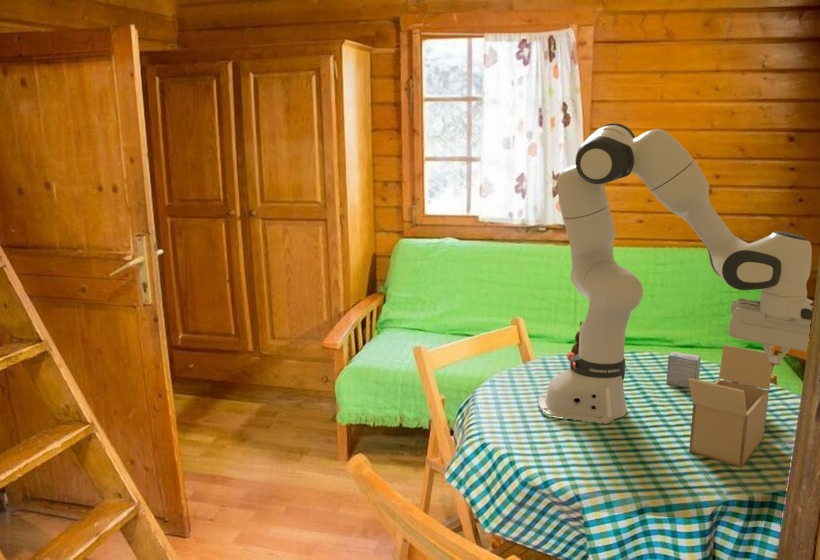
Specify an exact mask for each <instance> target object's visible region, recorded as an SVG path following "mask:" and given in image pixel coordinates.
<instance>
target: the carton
mask: <svg viewBox="0 0 820 560" xmlns="http://www.w3.org/2000/svg"><path fill="white" fill-rule="evenodd" d="M713 383H714V384H718V385H723V386H727V387H731V388H736V389H740V390H744V394H745V403H746V412H747V416H746V417H745V416H741V415H737V414H733V413H729V412H725V411H721V410H717V409H713V408H709V407H705V406H701V405H697V404H694V403H693V402H692V413H691V414H692V417H691V426H690V436H689V438H690V439H689V451H688V452H690V453H693V454H696V455H700V456H703V457H707V458H709V459H713V460H715V461H716V460H717V461H719V462H722V463H726V464H729V465H732V466H736V467H739V468H743V467H744V465H745V464H746V463H747V462H748V460H749V458H750V457H751V456H752V455H753V454H754V452H755V451H756V449H757V448H758V447H759V446H760V444H761V443H762V442H763V440H764V438H765V437H764V435H765V428H766V421H767V413H768V411H767V410H768V402H769V393H770V391H769V389H764V388H760V387H757V388H755V387H750V386H746V385H741V384H737V383H733V382H728V381H724V379H720V378H718V379H717V380H715V381H714V382H713ZM760 442H761V443H760ZM757 446H758V447H757ZM754 450H755V451H754Z"/></svg>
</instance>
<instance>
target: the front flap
mask: <svg viewBox="0 0 820 560" xmlns="http://www.w3.org/2000/svg"><path fill="white" fill-rule="evenodd" d="M688 380H689V385H690V388H689V389H690V394H691V401H692V404H693V403H694V404H697V405H701V406H705V407H709V408H713V409H717V410H721V411H725V412H729V413H733V414H737V415H741V416H745V417H746V416H747V412H746V403H745V394H744V390H740V389H736V388H731V387H727V386H723V385H718V384H714V383H715V382H709V381H706V380H705V381H704V380H700V379H699V380H697V379H692V378H689V379H688Z"/></svg>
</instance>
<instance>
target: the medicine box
mask: <svg viewBox="0 0 820 560" xmlns="http://www.w3.org/2000/svg"><path fill="white" fill-rule="evenodd" d="M667 359H668V360H667V370H666V371H667V372H666V385H669V386H677V387H682V388H687V389H688V388H689V389H690V385H689V380H688V379H689V378H692V379H697V380H700V372H701V371H700V369H701V356H700V355H697V354H691V353H685V352H678V351H671V352H670V354H668V358H667Z"/></svg>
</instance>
